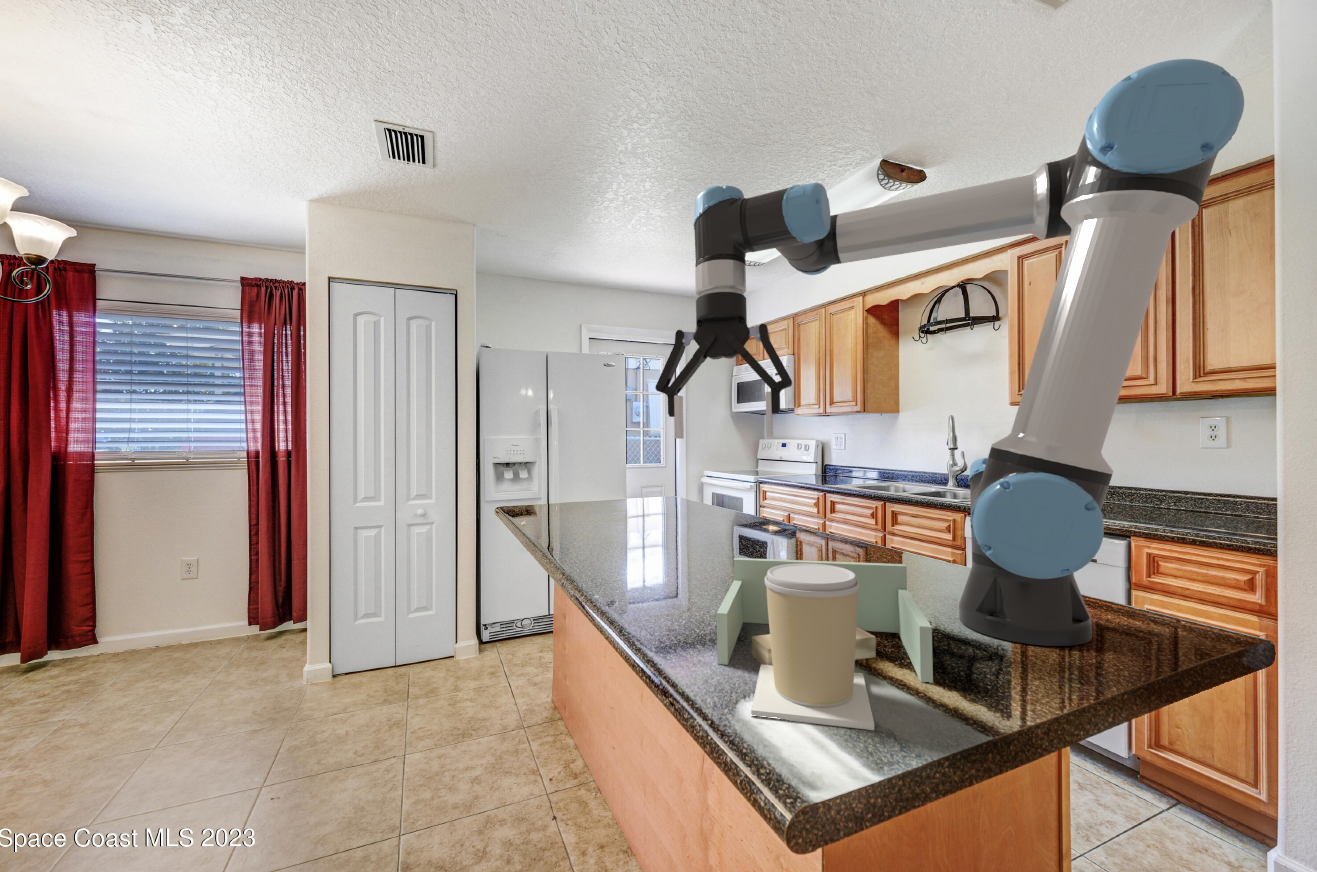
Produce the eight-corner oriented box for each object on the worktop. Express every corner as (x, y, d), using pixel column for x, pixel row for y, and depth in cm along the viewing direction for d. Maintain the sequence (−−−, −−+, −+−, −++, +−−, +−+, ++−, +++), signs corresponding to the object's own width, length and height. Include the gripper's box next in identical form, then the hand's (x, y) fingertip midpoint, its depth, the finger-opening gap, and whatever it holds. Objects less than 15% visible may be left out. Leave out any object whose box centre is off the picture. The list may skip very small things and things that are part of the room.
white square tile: (862, 678, 60) (862, 673, 60) (874, 730, 50) (874, 723, 50) (761, 669, 63) (760, 664, 63) (751, 716, 52) (751, 709, 53)
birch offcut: (854, 648, 71) (853, 624, 71) (875, 661, 66) (875, 636, 66) (752, 660, 67) (752, 636, 67) (768, 675, 63) (767, 649, 63)
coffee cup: (822, 665, 62) (820, 559, 63) (882, 701, 54) (879, 578, 54) (750, 679, 59) (748, 567, 59) (801, 719, 50) (799, 588, 51)
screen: (906, 630, 75) (904, 564, 75) (933, 683, 59) (931, 598, 59) (735, 618, 81) (734, 557, 81) (717, 663, 65) (716, 587, 65)
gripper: (806, 295, 83) (809, 436, 83) (648, 308, 89) (650, 439, 89) (806, 281, 76) (810, 435, 75) (634, 297, 82) (636, 439, 82)
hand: (723, 438), depth 82 cm, fingers open, 13 cm apart
